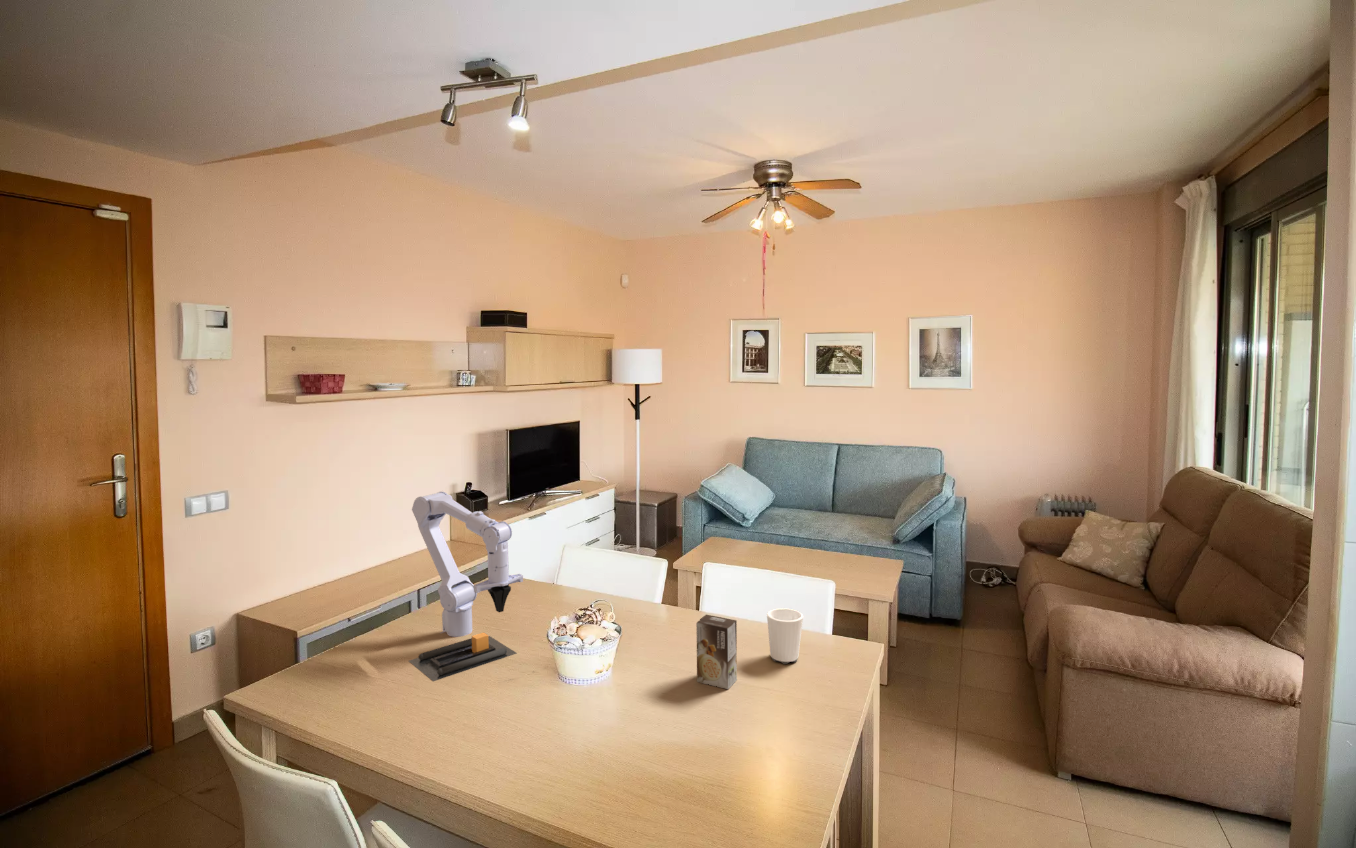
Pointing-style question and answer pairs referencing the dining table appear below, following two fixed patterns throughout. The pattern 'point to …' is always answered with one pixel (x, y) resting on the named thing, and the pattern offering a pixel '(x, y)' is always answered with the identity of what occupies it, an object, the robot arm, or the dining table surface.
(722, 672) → the coffee box
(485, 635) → the orange rectangular box
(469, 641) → the grey rails and frame
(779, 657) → the cup
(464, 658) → the plate
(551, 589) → the dining table surface
